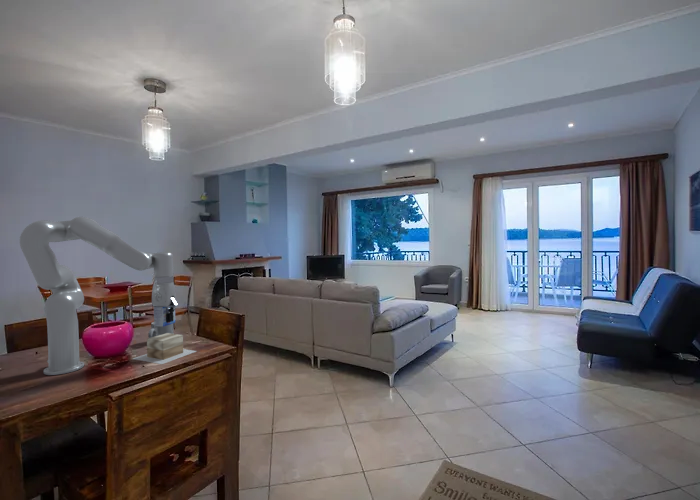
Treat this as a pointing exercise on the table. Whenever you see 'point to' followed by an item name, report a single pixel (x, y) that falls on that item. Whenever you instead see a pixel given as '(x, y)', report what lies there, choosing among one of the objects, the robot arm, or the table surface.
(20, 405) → the table surface
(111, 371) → the table surface
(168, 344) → the birch slab
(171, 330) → the coffee mug
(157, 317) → the medicine box
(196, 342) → the table surface
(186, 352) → the base board
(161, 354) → the oak slab
